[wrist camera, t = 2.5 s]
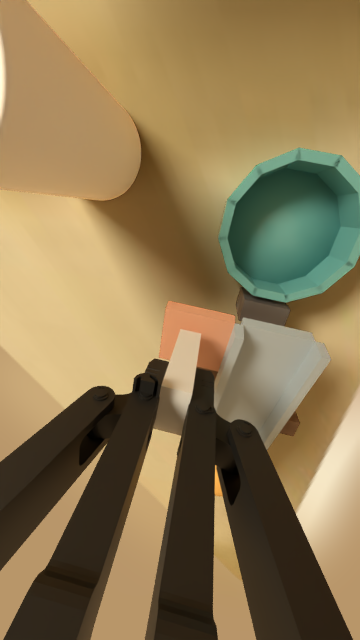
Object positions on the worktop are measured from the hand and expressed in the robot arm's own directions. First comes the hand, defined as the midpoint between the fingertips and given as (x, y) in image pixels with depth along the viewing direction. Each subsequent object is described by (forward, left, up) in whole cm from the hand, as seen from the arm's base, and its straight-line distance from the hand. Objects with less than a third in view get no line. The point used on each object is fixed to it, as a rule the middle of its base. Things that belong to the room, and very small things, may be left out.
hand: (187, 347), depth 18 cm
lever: (+7, +4, -5) cm, 9 cm away
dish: (-9, +6, -10) cm, 15 cm away
